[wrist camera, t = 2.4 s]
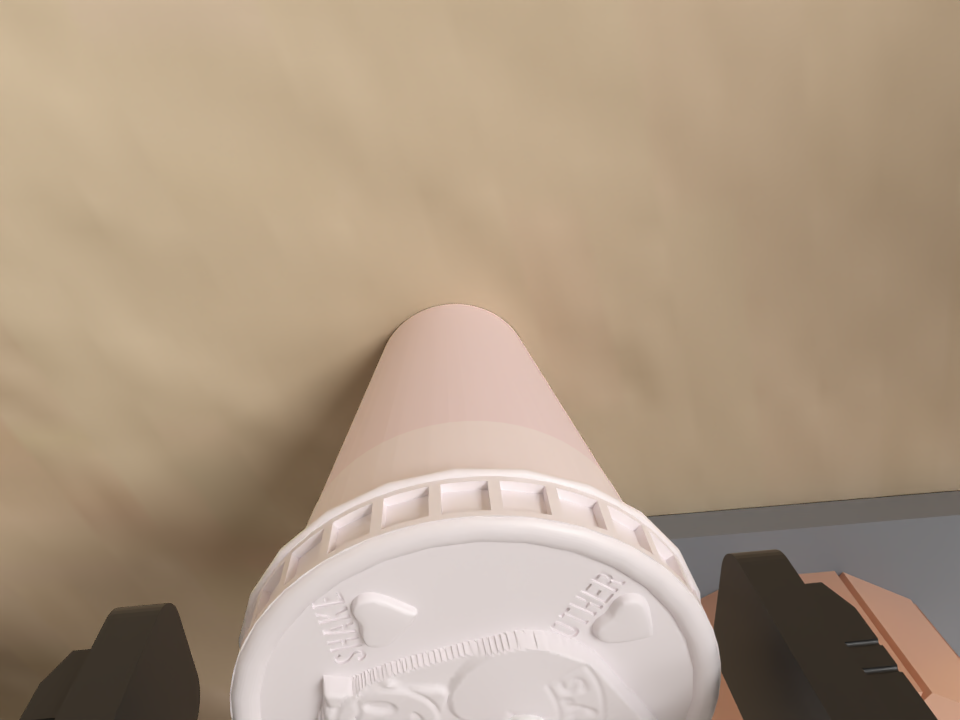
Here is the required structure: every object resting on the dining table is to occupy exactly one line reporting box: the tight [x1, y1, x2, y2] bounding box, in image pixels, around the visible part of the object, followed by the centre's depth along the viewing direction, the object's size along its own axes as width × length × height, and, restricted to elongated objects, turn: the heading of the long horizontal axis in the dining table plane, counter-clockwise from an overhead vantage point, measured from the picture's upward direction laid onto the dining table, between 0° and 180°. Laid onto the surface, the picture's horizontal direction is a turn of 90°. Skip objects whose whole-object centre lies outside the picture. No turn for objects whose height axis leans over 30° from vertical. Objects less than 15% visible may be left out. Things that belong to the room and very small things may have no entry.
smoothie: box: [230, 304, 721, 720], centre depth 12 cm, size 6×6×14 cm
